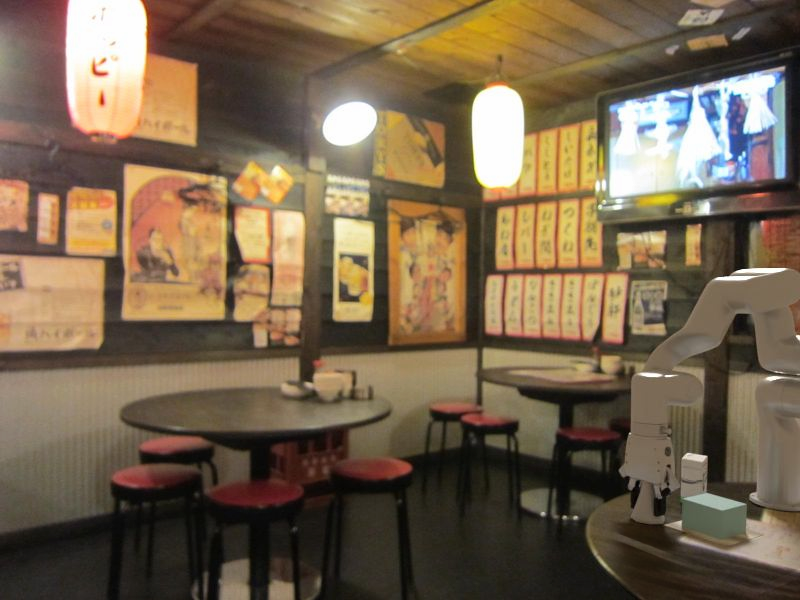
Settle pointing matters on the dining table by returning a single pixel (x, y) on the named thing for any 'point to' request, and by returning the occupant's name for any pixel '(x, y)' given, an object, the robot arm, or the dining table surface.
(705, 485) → the ink box
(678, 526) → the base board
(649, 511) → the flask
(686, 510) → the teal block
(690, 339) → the robot arm
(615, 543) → the dining table surface
